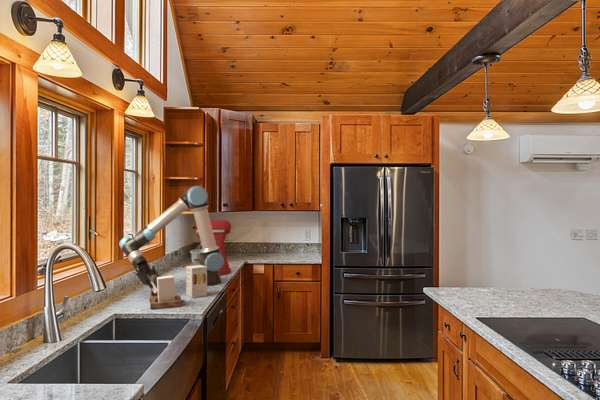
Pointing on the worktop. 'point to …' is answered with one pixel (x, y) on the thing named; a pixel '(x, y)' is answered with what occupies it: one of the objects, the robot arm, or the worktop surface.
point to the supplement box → (196, 281)
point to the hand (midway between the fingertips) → (159, 291)
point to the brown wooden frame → (157, 304)
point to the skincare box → (165, 288)
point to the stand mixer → (219, 232)
